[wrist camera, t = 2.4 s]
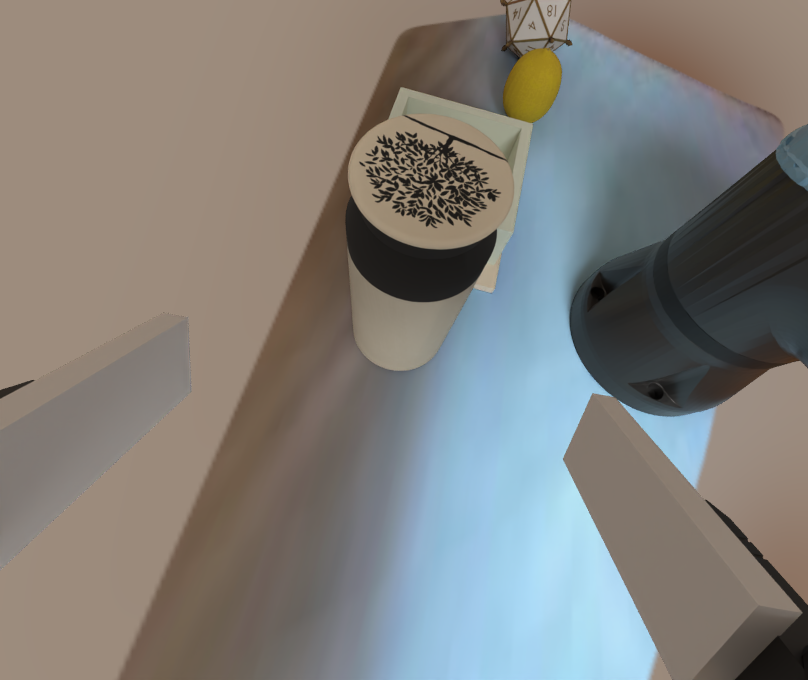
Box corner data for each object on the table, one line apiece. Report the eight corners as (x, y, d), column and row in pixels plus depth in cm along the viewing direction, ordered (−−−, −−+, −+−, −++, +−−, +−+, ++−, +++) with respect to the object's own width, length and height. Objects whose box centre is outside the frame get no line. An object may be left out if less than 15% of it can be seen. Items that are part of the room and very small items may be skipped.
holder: (397, 121, 42) (402, 68, 37) (518, 155, 42) (541, 107, 37) (348, 253, 36) (345, 212, 30) (491, 293, 36) (514, 259, 30)
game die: (507, 95, 51) (496, 48, 42) (500, 31, 51) (486, -30, 42) (580, 69, 48) (585, 11, 38) (572, 1, 47) (575, -74, 38)
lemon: (532, 147, 43) (568, 76, 36) (487, 129, 43) (513, 55, 36) (545, 116, 45) (581, 43, 38) (502, 99, 45) (529, 23, 38)
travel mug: (411, 390, 32) (464, 284, 15) (334, 337, 33) (303, 183, 16) (459, 319, 34) (550, 163, 18) (387, 273, 35) (408, 83, 19)
